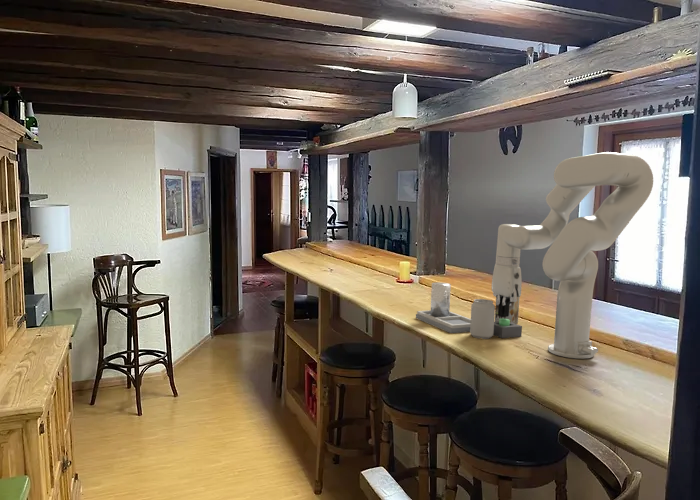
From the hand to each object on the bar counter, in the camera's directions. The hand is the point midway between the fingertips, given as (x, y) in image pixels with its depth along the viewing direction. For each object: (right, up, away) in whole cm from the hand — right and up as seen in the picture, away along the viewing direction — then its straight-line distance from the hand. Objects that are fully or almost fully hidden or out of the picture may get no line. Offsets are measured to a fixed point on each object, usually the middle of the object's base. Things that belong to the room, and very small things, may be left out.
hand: (503, 316), depth 178 cm
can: (-8, -6, -3) cm, 11 cm away
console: (0, -6, 0) cm, 6 cm away
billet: (-18, -2, +17) cm, 25 cm away
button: (0, -4, 0) cm, 4 cm away
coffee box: (+6, -5, +15) cm, 17 cm away
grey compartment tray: (-16, -4, +13) cm, 21 cm away
